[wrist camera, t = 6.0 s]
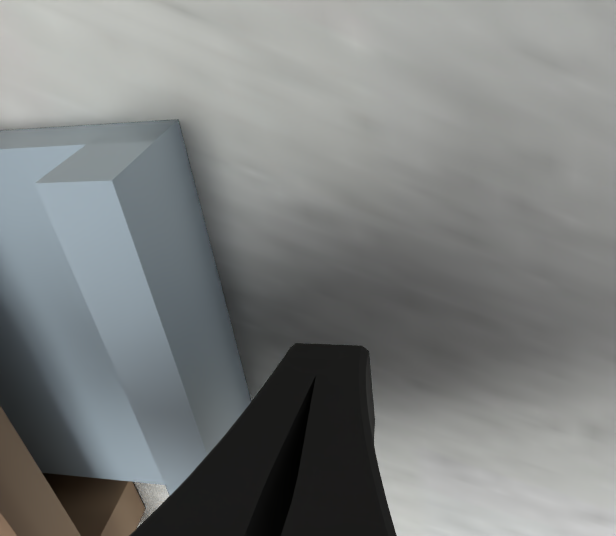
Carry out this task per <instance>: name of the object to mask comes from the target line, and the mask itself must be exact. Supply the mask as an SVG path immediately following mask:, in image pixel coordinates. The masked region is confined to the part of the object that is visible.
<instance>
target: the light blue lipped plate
mask: <svg viewBox="0 0 616 536" xmlns="http://www.w3.org/2000/svg"><path fill="white" fill-rule="evenodd" d="M250 403H251V399H250V395H249V391H248V387H247V383H246V379H245V375H244V372H243V368H242V364H241V360H240V356H239V352H238V348H237V345H236V341H235V337H234V333H233V329H232V325H231V321H230V318H229V314H228V310H227V306H226V302H225V298H224V294H223V291H222V287H221V283H220V279H219V275H218V271H217V267H216V264H215V260H214V256H213V252H212V248H211V244H210V240H209V236H208V233H207V229H206V225H205V221H204V217H203V213H202V209H201V206H200V202H199V198H198V194H197V190H196V186H195V182H194V179H193V175H192V171H191V167H190V163H189V159H188V155H187V152H186V148H185V144H184V140H183V136H182V132H181V128H180V125H179V121H178V119H177V120H161V121H145V122H129V123H113V124H97V125H81V126H65V127H49V128H33V129H17V130H1V131H0V406H1V407H2V409H3V411H4V412H5V414H6V415H7V417H8V419H9V420H10V422H11V424H12V425H13V427H14V428H15V430H16V432H17V433H18V435H19V436H20V438H21V440H22V441H23V443H24V445H25V446H26V448H27V449H28V451H29V453H30V454H31V456H32V457H33V459H34V461H35V462H36V464H37V466H38V467H39V469H40V470H41V472H42V473H50V474H60V475H70V476H80V477H91V478H101V479H111V480H121V481H131V482H141V483H151V484H161V485H165V486H166V488H167V491H168V493H169V495H171V494H172V493H173V492H174V491H175V490H176V489H177V488H178V487H179V486H180V485H181V484H182V483H183V482H184V481H185V480H186V479H187V477H188V476H189V475H190V474H191V473H192V472H193V471H194V470H195V469H196V467H197V466H198V465H199V464H200V463H201V462H202V461H203V459H204V458H205V457H206V456H207V455H208V454H209V453H210V452H211V450H212V449H213V448H214V447H215V446H216V445H217V444H218V442H219V441H220V440H221V439H222V438H223V437H224V435H225V434H226V433H227V432H228V431H229V429H230V428H231V427H232V425H233V424H234V423H235V422H236V420H237V419H238V418H239V417H240V415H241V414H242V413H243V412H244V410H245V409H246V408H247V407H248V405H249V404H250Z"/></svg>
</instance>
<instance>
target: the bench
mask: <svg viewBox="0 0 616 536" xmlns="http://www.w3.org/2000/svg"><path fill="white" fill-rule="evenodd" d="M144 511H145V507H144V505H143V503H142V501H141V499H140V497H139V495H138V493H137V490H136V488H135V486H134V484H133V482H131V481H121V480H111V479H101V478H91V477H80V476H70V475H60V474H50V473H42V472H41V470H40V469H39V467H38V466H37V464H36V462H35V461H34V459H33V457H32V456H31V454H30V453H29V451H28V449H27V448H26V446H25V445H24V443H23V441H22V440H21V438H20V436H19V435H18V433H17V432H16V430H15V428H14V427H13V425H12V424H11V422H10V420H9V419H8V417H7V415H6V414H5V412H4V411H3V409H2V407H1V406H0V536H129V535H130V534H131V533H132V532H134V531H135V530H136V528H137V526H138V524H139V522H140V519H141V517H142V515H143V513H144Z"/></svg>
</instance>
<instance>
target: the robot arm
mask: <svg viewBox="0 0 616 536" xmlns="http://www.w3.org/2000/svg"><path fill="white" fill-rule="evenodd" d="M374 428H375V417H374V405H373V393H372V381H371V369H370V358H369V351H368V350H367V349H366V348H365V347H363V346H356V345H330V344H303V343H295V344H294V345H293V346H292V347H291V348H290V349H289V350H288V352H287V353H286V355H285V356H284V358H283V359H282V361H281V362H280V363H279V365H278V366H277V368H276V369H275V370H274V372H273V373H272V375H271V376H270V377H269V379H268V380H267V382H266V383H265V384H264V386H263V387H262V388H261V390H260V391H259V392H258V394H257V395H256V396H255V398H254V399H253V400H252V402H251V403H250V404H249V405H248V407H247V408H246V409H245V410H244V412H243V413H242V414H241V415H240V417H239V418H238V419H237V420H236V422H235V423H234V424H233V425H232V427H231V428H230V429H229V431H228V432H227V433H226V434H225V435H224V437H223V438H222V439H221V440H220V441H219V442H218V444H217V445H216V446H215V447H214V448H213V449H212V450H211V452H210V453H209V454H208V455H207V456H206V457H205V458H204V459H203V461H202V462H201V463H200V464H199V465H198V466H197V467H196V469H195V470H194V471H193V472H192V473H191V474H190V475H189V476H188V477H187V479H186V480H185V481H184V482H183V483H182V484H181V485H180V486H179V487H178V488H177V489H176V490H175V491H174V492H173V493H172V494H171V495H170V496H169V497H168V498H167V499H166V500H165V501H164V502H163V504H162V505H160V506H159V507H158V508H157V509H156V510H155V511H154V512H153V513H152V514H151V515H150V516H149V517H148V518H147V519H146V520H145V521H144V522H143V523H142V524H141V525H140V526H139V527H138V528H137V529H136V530H135V531H134V532H132V533H131V534H130V535H129V536H396V532H395V529H394V525H393V522H392V519H391V515H390V511H389V508H388V504H387V500H386V496H385V492H384V488H383V484H382V480H381V476H380V472H379V468H378V463H377V458H376V454H375V448H374Z"/></svg>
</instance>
